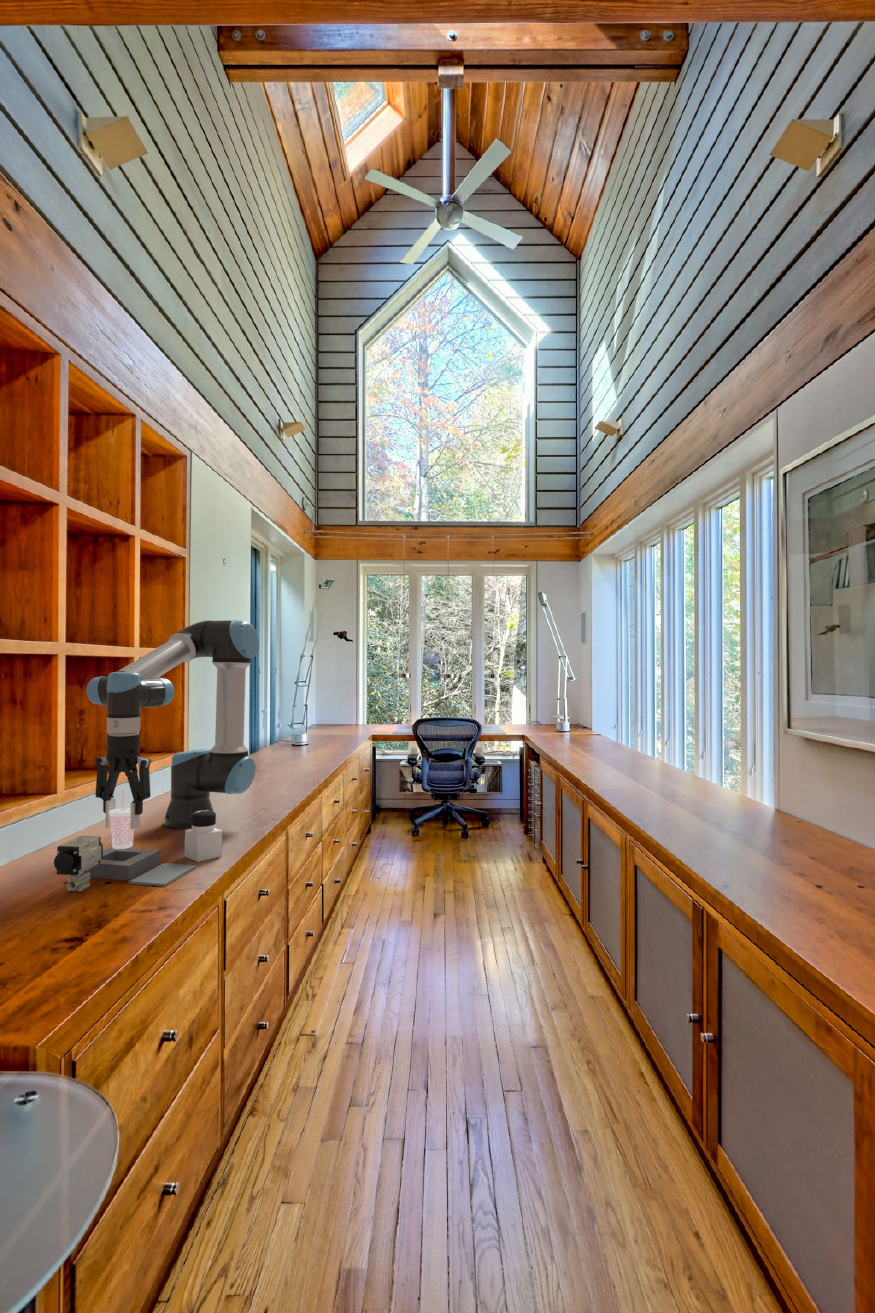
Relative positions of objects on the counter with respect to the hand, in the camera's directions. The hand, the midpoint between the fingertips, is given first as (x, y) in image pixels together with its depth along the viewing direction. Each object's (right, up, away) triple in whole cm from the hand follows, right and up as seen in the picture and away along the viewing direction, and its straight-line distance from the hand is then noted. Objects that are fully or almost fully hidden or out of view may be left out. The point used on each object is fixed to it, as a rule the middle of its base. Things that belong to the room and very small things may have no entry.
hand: (122, 826), depth 166 cm
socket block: (-1, -11, 0) cm, 11 cm away
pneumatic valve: (-3, -11, -14) cm, 18 cm away
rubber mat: (+12, -11, -4) cm, 17 cm away
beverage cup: (0, -5, 0) cm, 5 cm away
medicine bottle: (+16, -11, +12) cm, 23 cm away
